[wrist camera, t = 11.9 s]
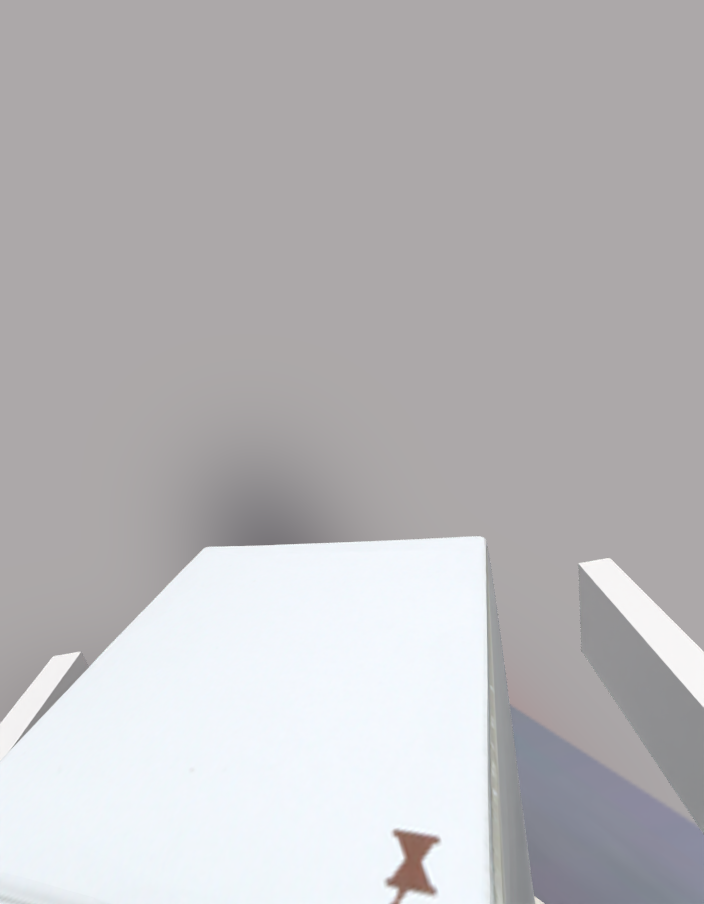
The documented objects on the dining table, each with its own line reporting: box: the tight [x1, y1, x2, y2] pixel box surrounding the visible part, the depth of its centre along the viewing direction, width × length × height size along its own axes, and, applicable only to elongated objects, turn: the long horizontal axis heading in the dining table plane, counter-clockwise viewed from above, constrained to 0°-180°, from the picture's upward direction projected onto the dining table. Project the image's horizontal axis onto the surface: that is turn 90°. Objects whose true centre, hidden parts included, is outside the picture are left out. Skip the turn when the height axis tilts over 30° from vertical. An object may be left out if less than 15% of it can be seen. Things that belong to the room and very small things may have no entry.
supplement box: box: [0, 536, 535, 904], centre depth 10 cm, size 7×7×13 cm
